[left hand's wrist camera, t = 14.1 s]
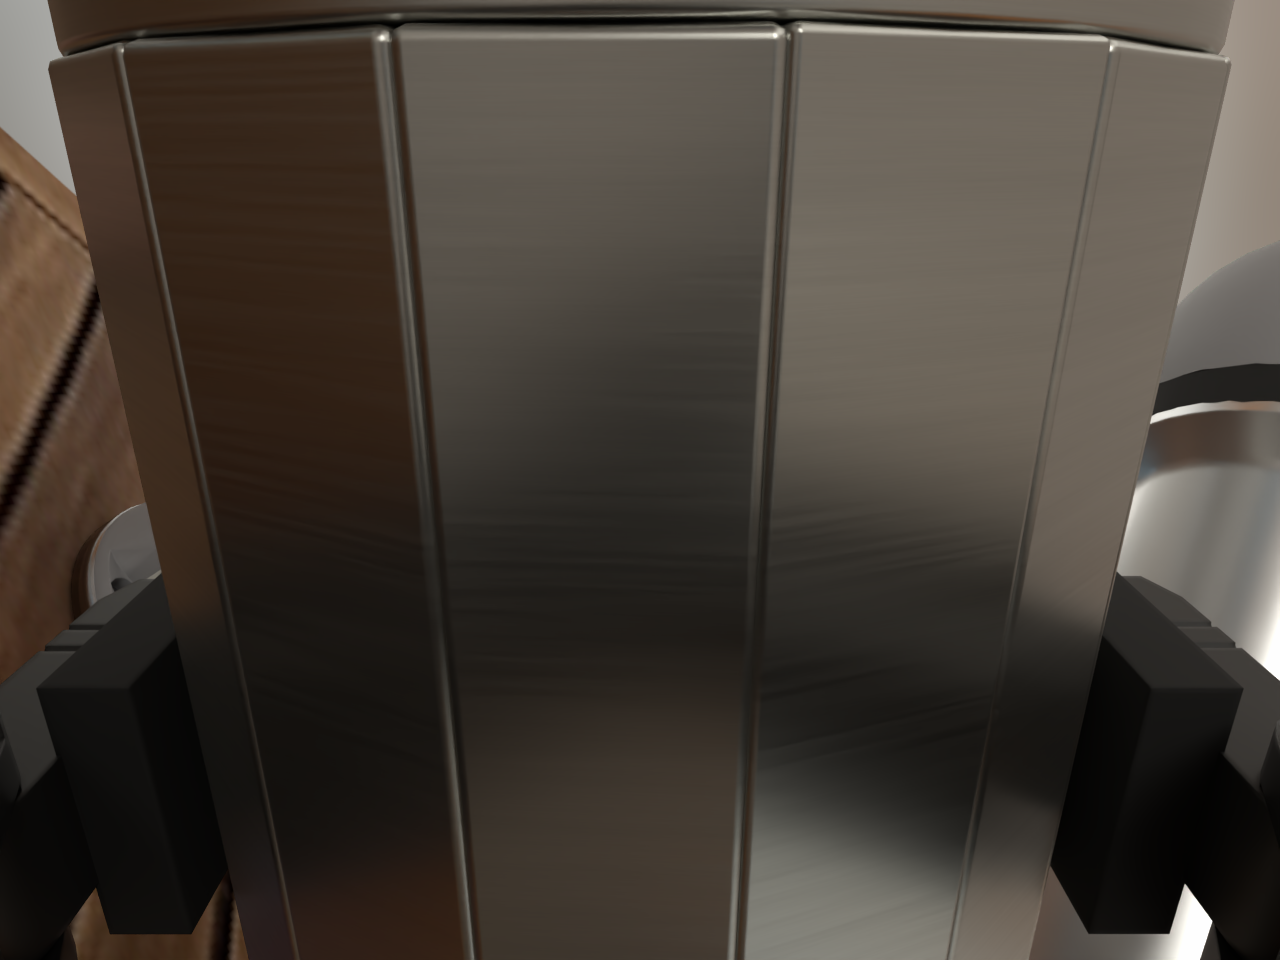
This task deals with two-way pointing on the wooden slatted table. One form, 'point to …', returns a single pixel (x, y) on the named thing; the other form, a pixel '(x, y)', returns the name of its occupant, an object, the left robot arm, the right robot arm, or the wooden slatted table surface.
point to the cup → (639, 445)
